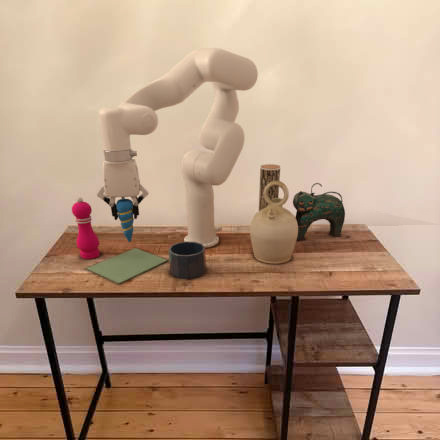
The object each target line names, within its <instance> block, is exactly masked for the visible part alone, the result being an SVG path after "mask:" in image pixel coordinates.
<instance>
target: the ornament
mask: <svg viewBox="0 0 440 440" xmlns="http://www.w3.org/2000/svg"><path fill="white" fill-rule="evenodd" d="M115 204H116V209H117V212H118V220H119V221H120V226H121V229H122V233H123V235H124V237H125V238H126V240H127V241H128V243H131V242H132V238H133V234H134V221H135V219H134V212H133V204H134V203H133V200H132V199H129V198H126V197H120V198H119V199H118V200H116V202H115Z"/></svg>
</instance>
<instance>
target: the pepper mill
mask: <svg viewBox="0 0 440 440" xmlns="http://www.w3.org/2000/svg"><path fill="white" fill-rule="evenodd" d="M92 210H93V209H92V206H91V204H90V203H88V202H87V201H84V199H83V197H81V196H78V197H76V202H74V204H73V205H72V206H71V214H72V216H74V217H75V218H74V220H75V223H76V224H77V228H78V231H77V232H78V233H77V237H76V247H77V248H78V249H79V256H80V258H82V259H83V260H92V259H96V258H98V257H99V256H100V249H99V246H100V240H99V237H98V236H97V234H96V233H95V230H94V229H93V227H92V221H93V219H92V216H91V214H92V212H93V211H92Z"/></svg>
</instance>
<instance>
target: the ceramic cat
mask: <svg viewBox="0 0 440 440" xmlns="http://www.w3.org/2000/svg"><path fill="white" fill-rule="evenodd" d="M316 185H319V186H320V187H323V185H322V184H321V183H320V182H316V183H313V184H312V185H311V188H310V193H309V192H306V191H301V190H300V191H299V192H297V193H296V194H294V196H293V198H292V205H293V207H294V209H295V210H296V212H295V218H296V220H297V224H298V236H297V240H296V242H297V241H304V240H305V237H306V234H307V232H308V229H309V228H310V227H311V225H312V224H313V223H314V222H317V221H321V220H325V221H327V222H329V235H331V236H332V237H339V236H341V233H342V229H343V226H344V223H345V218H346V209H345V207H344V206H345V205H344V204H343V196H342V195H341V194H340V193H339V192H337V191H327V192H326V191H325V192H324V193H321V194H320V193H319V194H316V192H313V187H314V186H316ZM330 193H331V194H330ZM333 194H337V195H338V196H339V197H340V198H338V197H337V196H335V195H333Z"/></svg>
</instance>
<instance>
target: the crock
mask: <svg viewBox="0 0 440 440" xmlns="http://www.w3.org/2000/svg"><path fill="white" fill-rule="evenodd" d="M168 261H169V272H170V273H171V275H172V276H173V277H176V278H179V279H186V280H190V279H195V278H199V277H201V276H203V275H205V272H206V271H207V262H206V261H207V260H206V248H205V247H204V246H203V244H200V243H197V242H188V241H186V242H184V241H180V242H176V243H173V244H172V245H170V246H169V248H168Z"/></svg>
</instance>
